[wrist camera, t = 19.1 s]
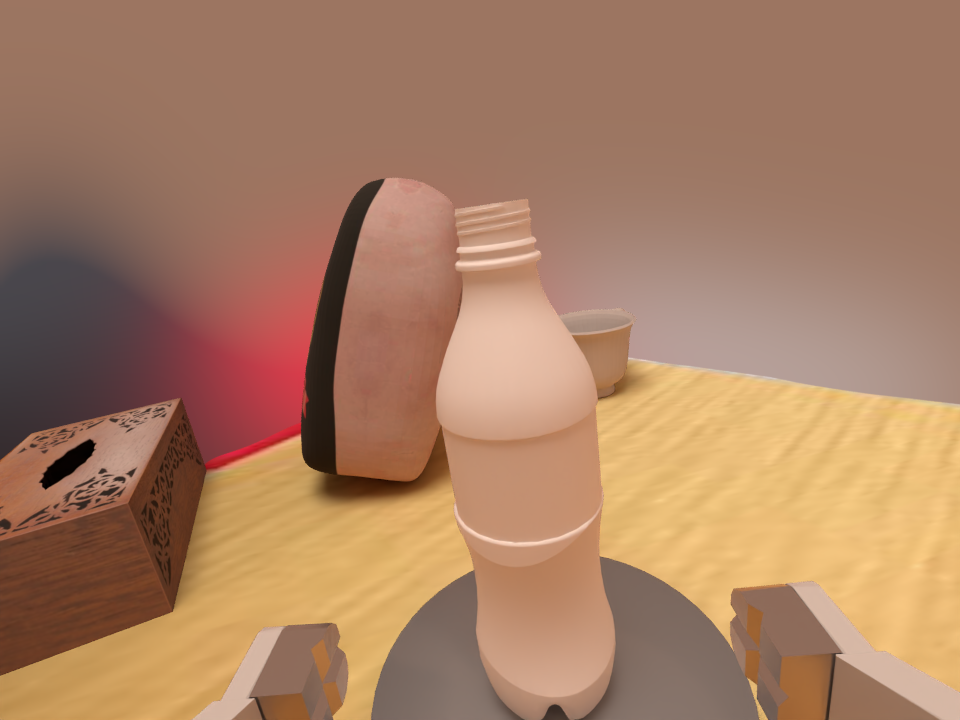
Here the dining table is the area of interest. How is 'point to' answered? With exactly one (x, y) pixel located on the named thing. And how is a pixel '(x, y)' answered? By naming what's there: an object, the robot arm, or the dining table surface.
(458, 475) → the water bottle
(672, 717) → the plate
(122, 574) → the tissue box cover
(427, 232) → the packaged food
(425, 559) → the dining table surface
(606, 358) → the teacup
